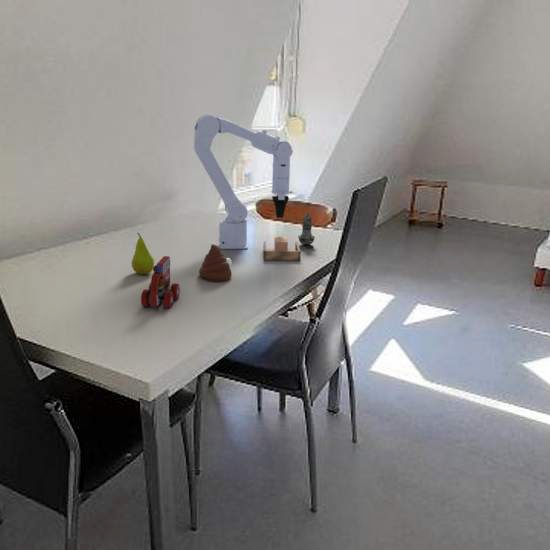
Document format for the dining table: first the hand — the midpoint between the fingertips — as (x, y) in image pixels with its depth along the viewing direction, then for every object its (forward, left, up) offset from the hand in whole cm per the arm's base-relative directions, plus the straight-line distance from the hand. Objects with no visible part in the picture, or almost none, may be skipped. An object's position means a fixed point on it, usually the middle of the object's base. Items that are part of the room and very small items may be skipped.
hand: (279, 217), depth 168 cm
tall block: (0, -7, -7) cm, 10 cm away
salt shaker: (+9, -3, -10) cm, 14 cm away
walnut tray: (0, -13, -10) cm, 17 cm away
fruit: (-40, -33, -10) cm, 53 cm away
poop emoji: (-19, -36, -10) cm, 42 cm away
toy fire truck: (-31, -55, -10) cm, 64 cm away
